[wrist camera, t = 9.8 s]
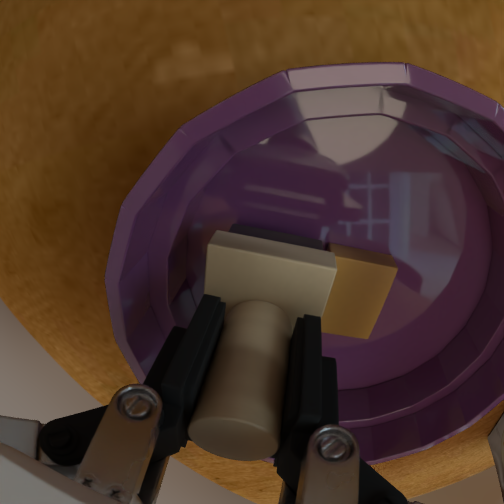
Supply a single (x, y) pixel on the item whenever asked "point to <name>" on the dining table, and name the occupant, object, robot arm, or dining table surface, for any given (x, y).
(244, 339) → the beige stamp
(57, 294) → the dining table surface
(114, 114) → the dining table surface
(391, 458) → the bowl
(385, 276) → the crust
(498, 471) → the coffee box
